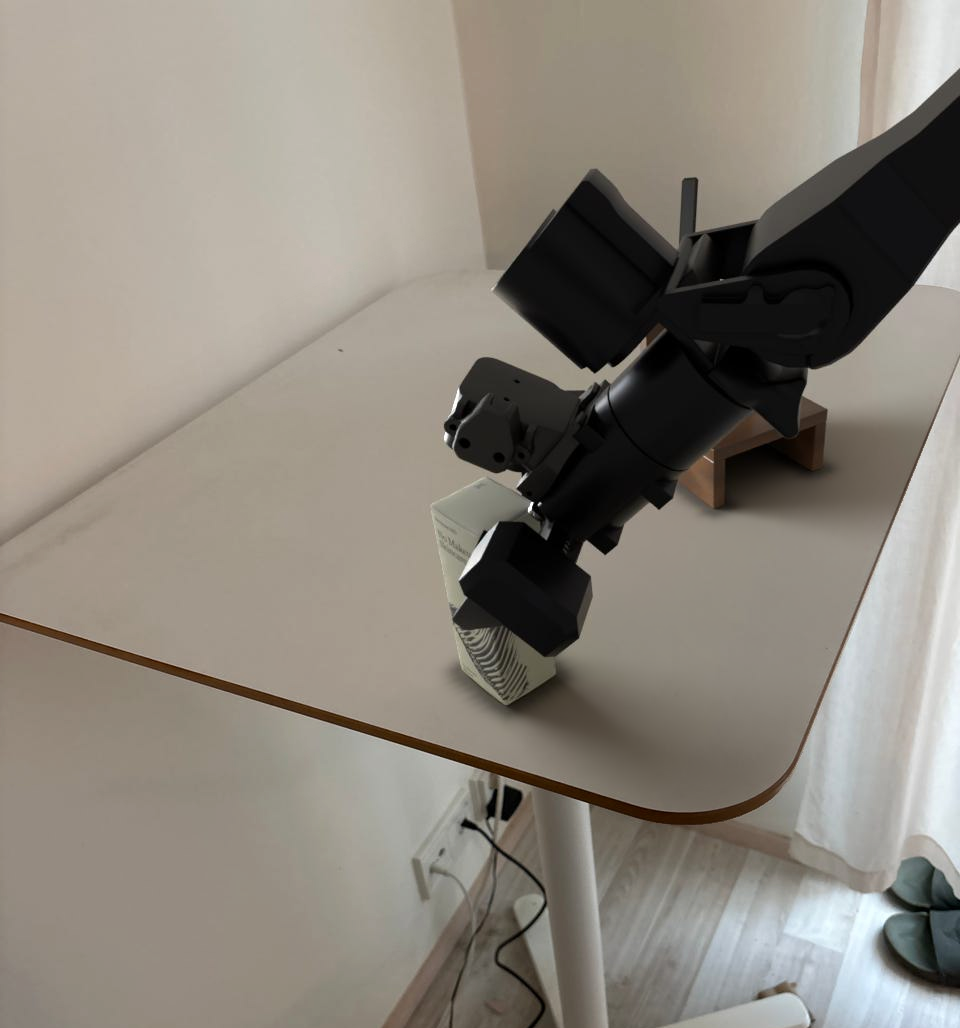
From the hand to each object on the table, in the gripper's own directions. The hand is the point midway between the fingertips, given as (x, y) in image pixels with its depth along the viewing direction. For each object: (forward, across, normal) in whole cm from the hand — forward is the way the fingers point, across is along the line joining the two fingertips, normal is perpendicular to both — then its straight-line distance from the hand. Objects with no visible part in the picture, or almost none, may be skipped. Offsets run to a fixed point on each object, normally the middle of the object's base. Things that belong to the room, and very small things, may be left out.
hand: (474, 590), depth 57 cm
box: (+4, 0, +6) cm, 7 cm away
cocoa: (+2, -60, +8) cm, 60 cm away
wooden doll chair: (-4, -27, +14) cm, 31 cm away
